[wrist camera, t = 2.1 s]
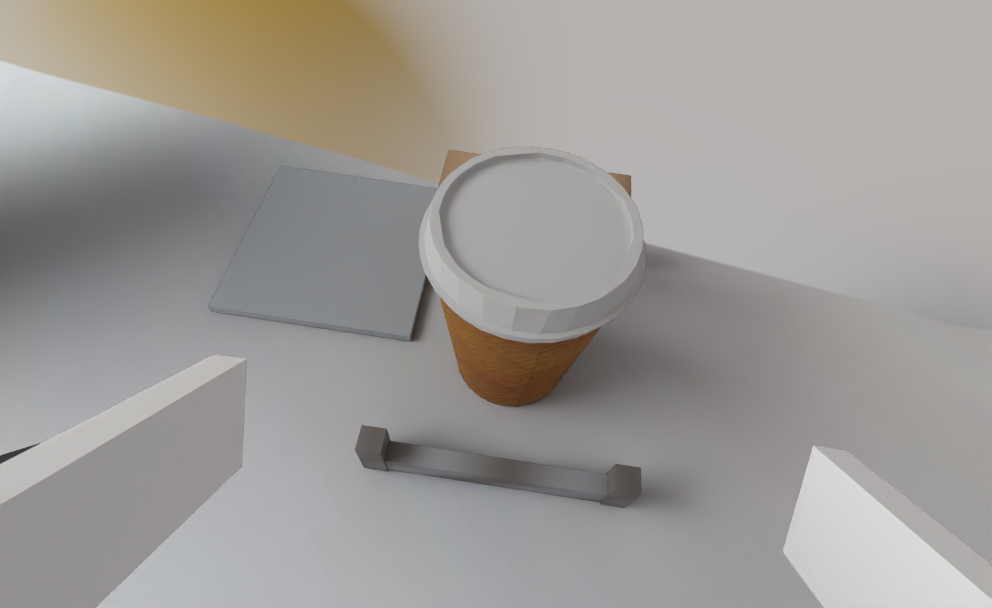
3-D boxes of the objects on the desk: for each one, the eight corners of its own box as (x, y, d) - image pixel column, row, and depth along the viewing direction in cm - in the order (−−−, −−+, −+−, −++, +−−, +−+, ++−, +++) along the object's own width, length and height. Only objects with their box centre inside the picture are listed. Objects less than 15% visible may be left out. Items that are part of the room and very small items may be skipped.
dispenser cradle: (364, 467, 27) (343, 427, 22) (432, 215, 37) (428, 146, 32) (623, 507, 27) (662, 476, 22) (623, 242, 36) (650, 178, 31)
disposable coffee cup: (481, 467, 27) (497, 366, 17) (401, 329, 32) (376, 182, 22) (623, 384, 31) (706, 257, 20) (533, 268, 35) (565, 115, 25)
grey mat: (211, 311, 31) (207, 306, 31) (282, 171, 38) (280, 165, 37) (410, 341, 31) (409, 336, 31) (447, 195, 38) (447, 189, 37)
